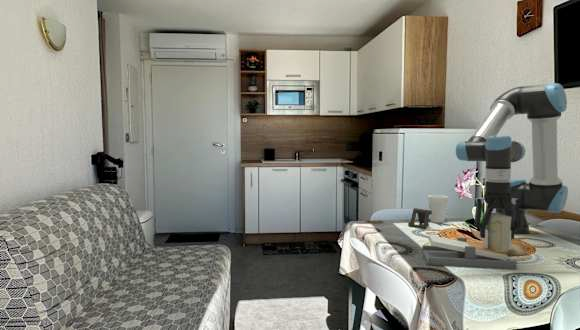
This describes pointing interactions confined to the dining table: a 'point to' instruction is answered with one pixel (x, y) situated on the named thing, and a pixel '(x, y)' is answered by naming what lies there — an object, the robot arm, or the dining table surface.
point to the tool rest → (516, 250)
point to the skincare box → (498, 232)
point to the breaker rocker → (461, 247)
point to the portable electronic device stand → (420, 218)
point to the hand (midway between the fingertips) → (496, 247)
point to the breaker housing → (463, 257)
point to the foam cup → (437, 207)
